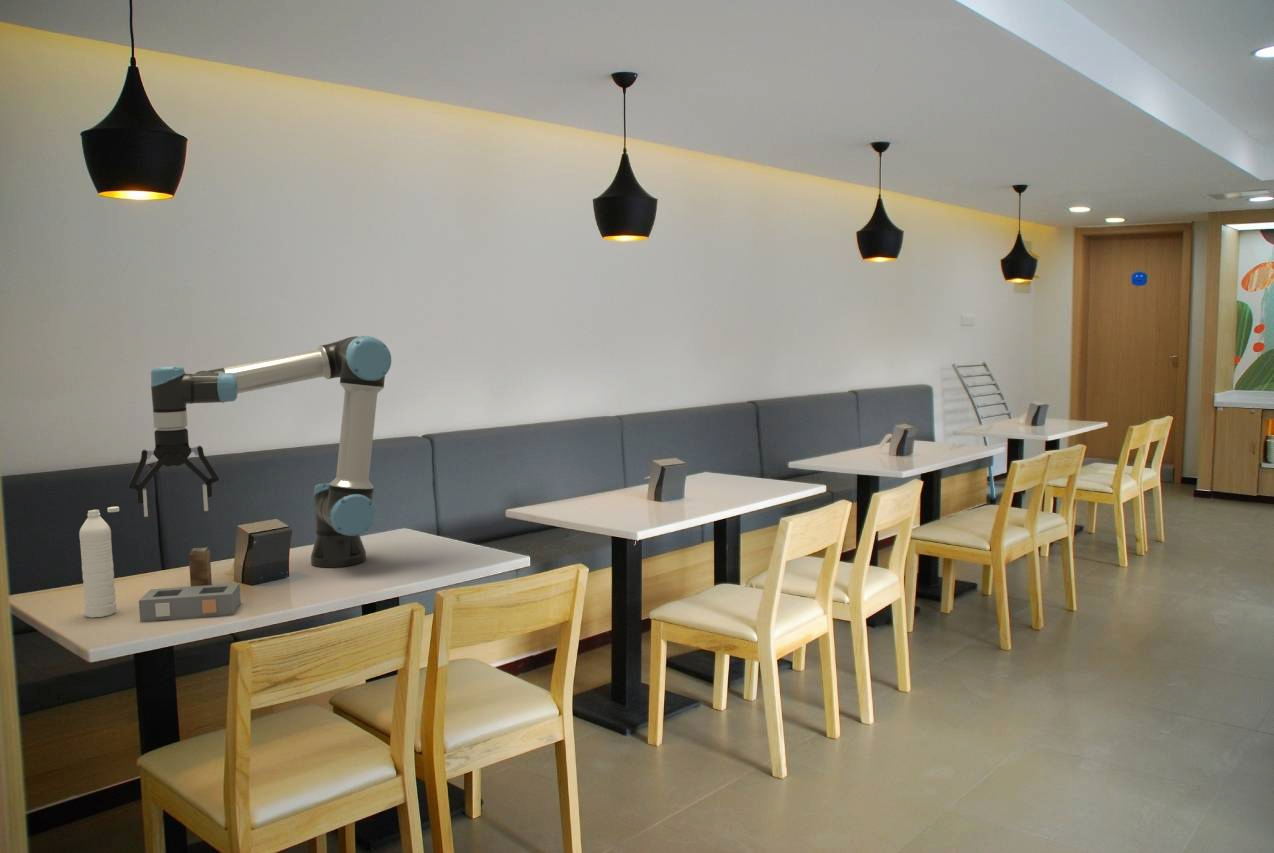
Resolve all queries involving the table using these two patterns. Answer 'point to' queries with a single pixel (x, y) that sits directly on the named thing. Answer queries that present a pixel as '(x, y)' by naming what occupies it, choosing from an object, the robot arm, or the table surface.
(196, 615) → the socket block
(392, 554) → the table surface
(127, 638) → the table surface
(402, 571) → the table surface
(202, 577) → the plug
